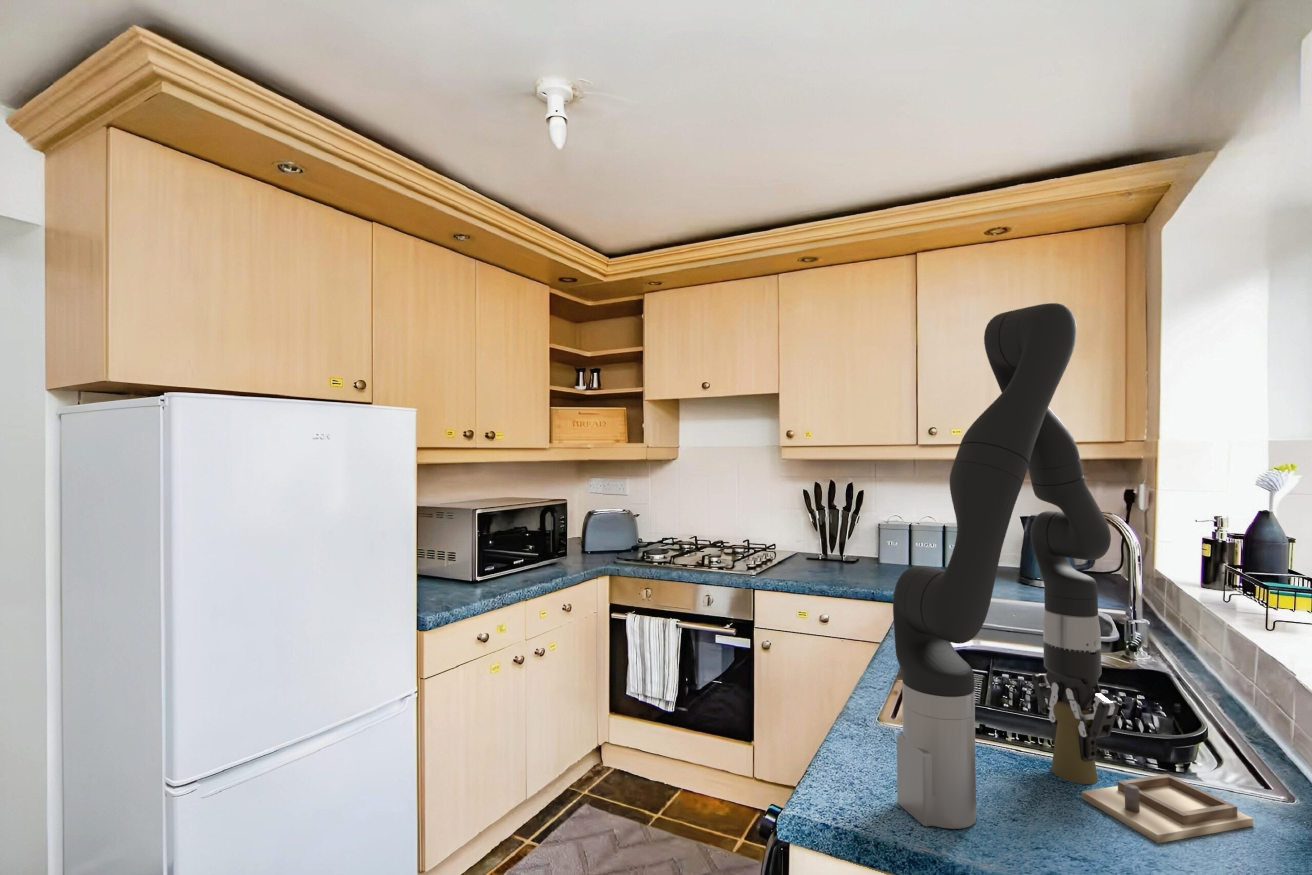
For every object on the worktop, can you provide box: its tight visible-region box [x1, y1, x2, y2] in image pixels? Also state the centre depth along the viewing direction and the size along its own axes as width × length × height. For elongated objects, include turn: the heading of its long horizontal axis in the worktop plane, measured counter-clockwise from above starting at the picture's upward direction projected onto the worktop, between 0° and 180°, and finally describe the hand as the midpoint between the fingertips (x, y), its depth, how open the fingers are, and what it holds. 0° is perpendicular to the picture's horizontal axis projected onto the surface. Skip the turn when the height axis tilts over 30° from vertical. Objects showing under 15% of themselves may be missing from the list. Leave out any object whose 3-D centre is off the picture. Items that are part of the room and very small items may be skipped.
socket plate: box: [1081, 773, 1254, 844], centre depth 89 cm, size 16×11×4 cm
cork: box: [1051, 701, 1099, 785], centre depth 99 cm, size 6×6×11 cm
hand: (1073, 752), depth 99 cm, fingers closed on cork, 4 cm apart
